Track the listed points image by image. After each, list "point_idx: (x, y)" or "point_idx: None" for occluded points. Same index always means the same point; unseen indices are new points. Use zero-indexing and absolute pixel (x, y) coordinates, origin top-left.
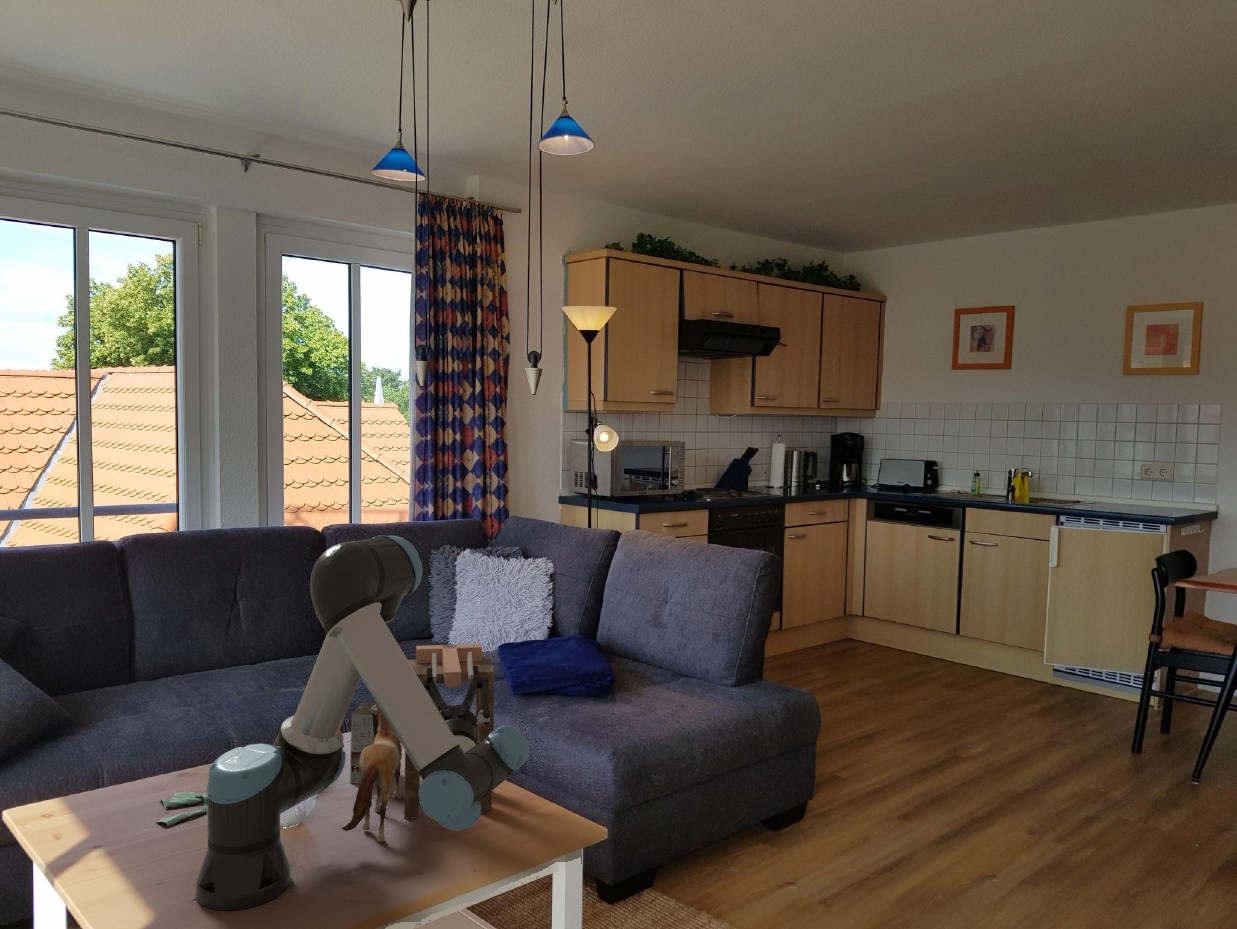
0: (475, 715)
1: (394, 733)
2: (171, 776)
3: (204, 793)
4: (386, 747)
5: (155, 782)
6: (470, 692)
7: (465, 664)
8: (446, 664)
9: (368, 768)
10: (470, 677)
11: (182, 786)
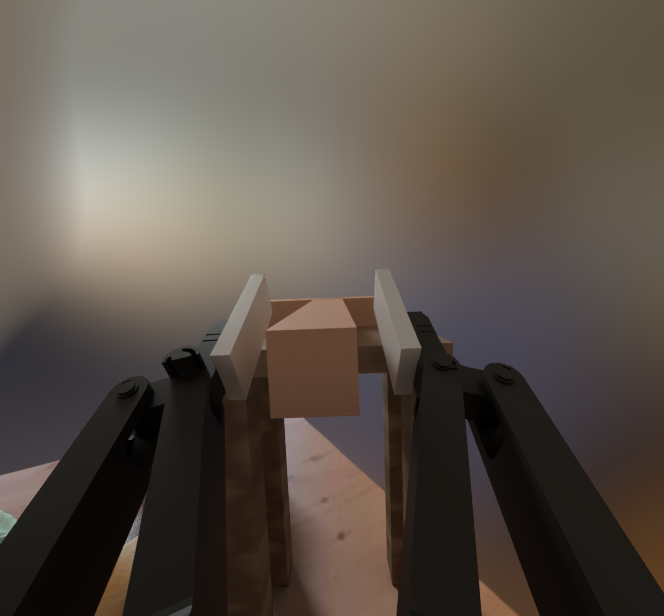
0: (386, 432)
1: None
2: (38, 468)
3: (11, 517)
4: (114, 598)
5: (8, 479)
6: (442, 484)
7: (363, 330)
8: (300, 312)
9: None
10: (405, 360)
11: (19, 491)
